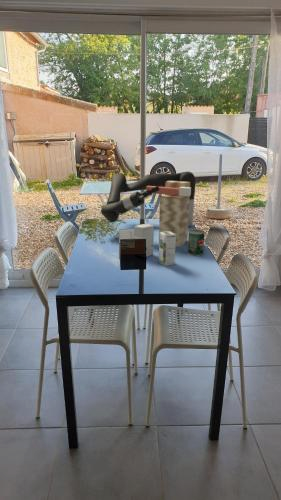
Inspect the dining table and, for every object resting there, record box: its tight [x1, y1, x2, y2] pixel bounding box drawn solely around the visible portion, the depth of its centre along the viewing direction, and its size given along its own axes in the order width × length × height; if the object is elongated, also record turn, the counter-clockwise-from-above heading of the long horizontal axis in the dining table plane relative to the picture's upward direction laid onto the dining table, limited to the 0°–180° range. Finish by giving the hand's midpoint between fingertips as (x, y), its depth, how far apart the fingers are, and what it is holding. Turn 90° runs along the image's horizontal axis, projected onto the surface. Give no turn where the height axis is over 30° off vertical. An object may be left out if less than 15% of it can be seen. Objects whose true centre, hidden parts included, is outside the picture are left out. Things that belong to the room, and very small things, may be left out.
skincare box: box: [133, 223, 155, 257], centre depth 180 cm, size 8×6×15 cm
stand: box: [158, 181, 190, 248], centre depth 197 cm, size 12×13×32 cm
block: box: [145, 186, 191, 196], centre depth 192 cm, size 23×4×4 cm, turn 67°
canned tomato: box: [187, 229, 206, 256], centre depth 184 cm, size 8×8×11 cm
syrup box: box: [158, 231, 176, 267], centre depth 170 cm, size 6×6×14 cm
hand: (159, 187), depth 193 cm, fingers closed on block, 3 cm apart
